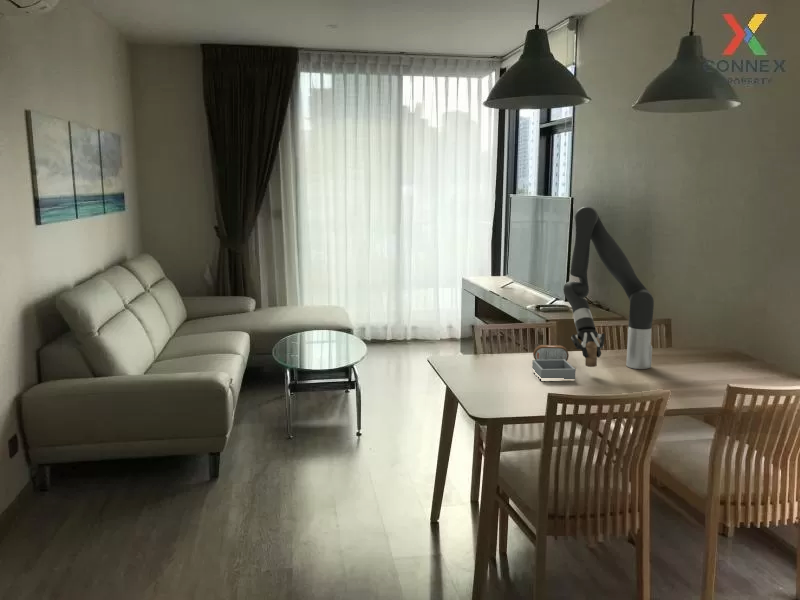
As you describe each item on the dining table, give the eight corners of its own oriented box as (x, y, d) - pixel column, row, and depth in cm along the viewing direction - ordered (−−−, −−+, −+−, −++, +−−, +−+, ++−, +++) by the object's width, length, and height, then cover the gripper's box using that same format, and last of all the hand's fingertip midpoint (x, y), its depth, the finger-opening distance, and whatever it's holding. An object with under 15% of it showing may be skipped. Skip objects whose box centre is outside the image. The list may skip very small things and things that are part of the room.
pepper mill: (594, 363, 260) (595, 340, 259) (598, 366, 256) (598, 342, 254) (584, 364, 260) (584, 340, 259) (587, 367, 256) (587, 342, 254)
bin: (564, 371, 266) (564, 359, 265) (574, 381, 252) (575, 369, 251) (532, 371, 265) (532, 359, 265) (540, 381, 251) (541, 369, 250)
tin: (567, 363, 278) (568, 344, 276) (568, 365, 275) (569, 346, 273) (532, 362, 279) (533, 344, 278) (533, 364, 276) (534, 346, 275)
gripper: (568, 317, 262) (577, 352, 252) (603, 315, 263) (612, 351, 253) (565, 327, 268) (573, 362, 259) (598, 325, 269) (608, 360, 259)
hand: (592, 356), depth 256 cm, fingers closed on pepper mill, 4 cm apart
